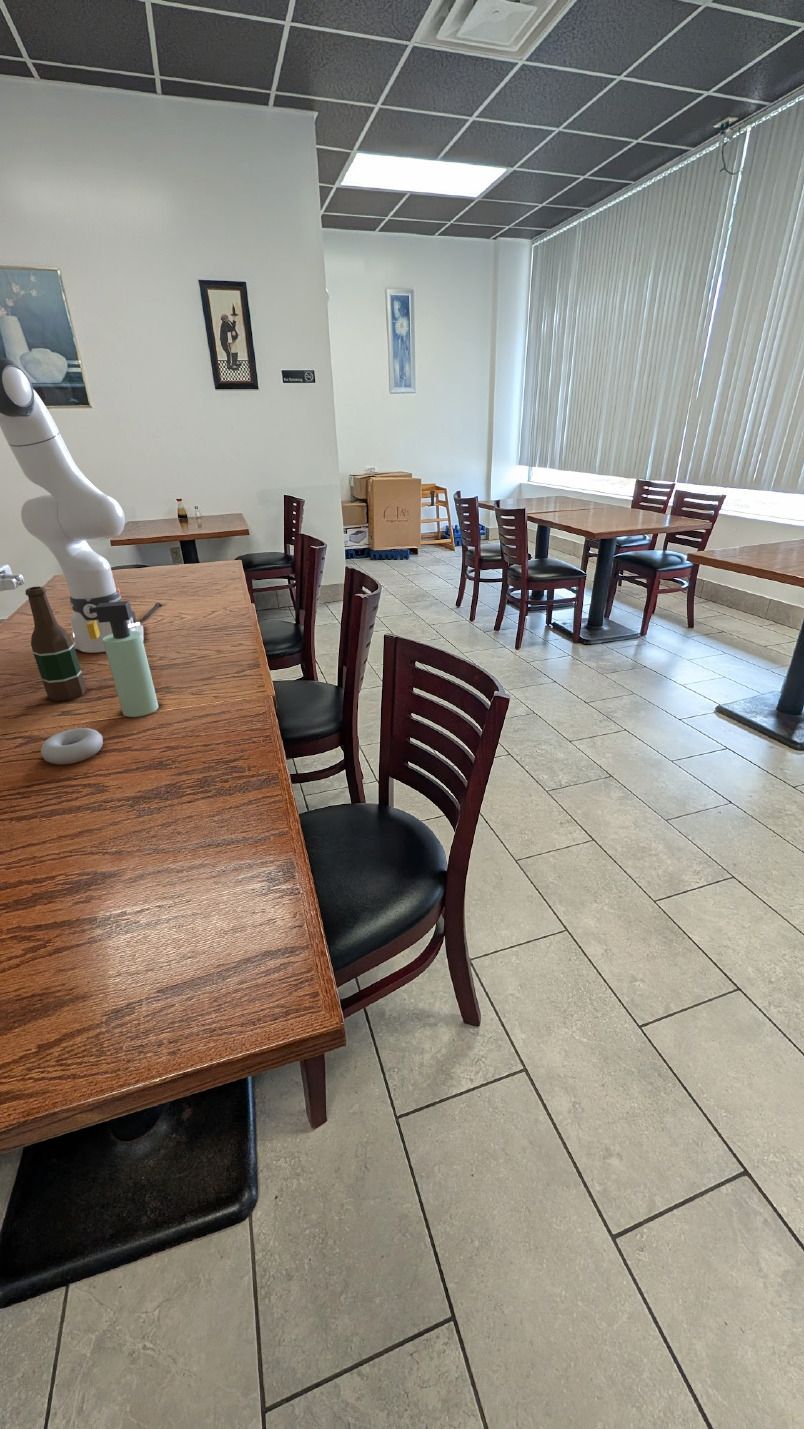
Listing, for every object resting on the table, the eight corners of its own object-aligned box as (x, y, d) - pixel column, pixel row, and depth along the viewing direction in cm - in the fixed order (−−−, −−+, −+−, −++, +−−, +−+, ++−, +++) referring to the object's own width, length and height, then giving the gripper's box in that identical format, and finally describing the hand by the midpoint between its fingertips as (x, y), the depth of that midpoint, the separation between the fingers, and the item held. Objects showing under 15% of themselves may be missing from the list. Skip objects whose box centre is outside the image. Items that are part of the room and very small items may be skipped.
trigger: (93, 635, 115) (89, 620, 114) (100, 635, 115) (96, 620, 114) (90, 639, 113) (86, 624, 112) (97, 638, 113) (92, 623, 112)
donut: (74, 772, 100) (117, 744, 108) (68, 755, 98) (112, 727, 107) (31, 764, 103) (75, 737, 112) (24, 747, 102) (70, 721, 110)
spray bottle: (121, 705, 124) (93, 601, 115) (161, 701, 126) (136, 597, 116) (113, 719, 118) (83, 610, 108) (155, 714, 120) (128, 607, 110)
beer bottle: (71, 702, 127) (36, 593, 116) (40, 700, 128) (3, 592, 118) (94, 688, 133) (64, 583, 123) (65, 686, 135) (32, 583, 124)
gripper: (-105, 583, 95) (-12, 576, 97) (-44, 559, 113) (34, 554, 115) (-89, 620, 97) (1, 613, 100) (-32, 591, 116) (43, 586, 118)
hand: (19, 581), depth 107 cm, fingers closed
